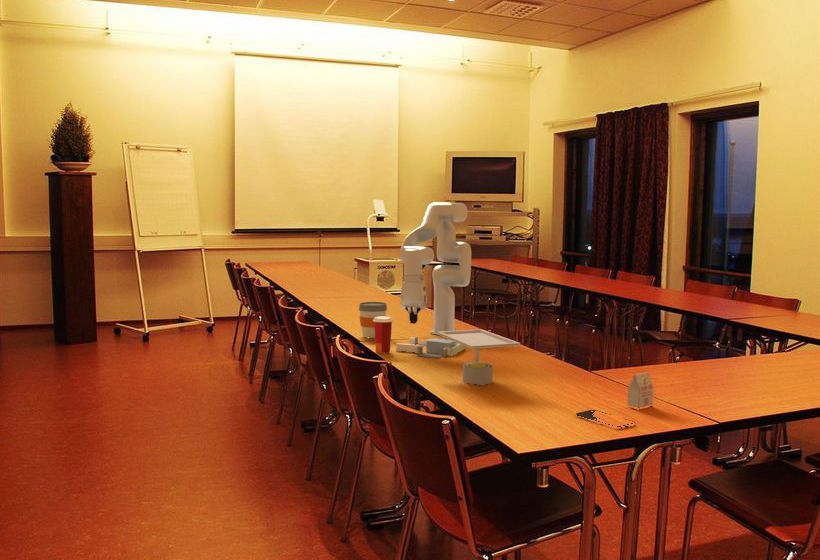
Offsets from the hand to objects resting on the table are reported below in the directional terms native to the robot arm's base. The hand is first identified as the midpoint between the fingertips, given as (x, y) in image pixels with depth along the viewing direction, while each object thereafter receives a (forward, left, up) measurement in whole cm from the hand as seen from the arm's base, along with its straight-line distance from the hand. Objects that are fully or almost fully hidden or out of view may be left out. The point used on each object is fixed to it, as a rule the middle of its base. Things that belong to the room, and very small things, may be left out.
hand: (413, 322), depth 293 cm
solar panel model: (+45, +40, -11) cm, 61 cm away
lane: (+1, +8, -10) cm, 13 cm away
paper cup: (+13, -8, -11) cm, 19 cm away
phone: (+74, +85, -11) cm, 113 cm away
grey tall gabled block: (+56, +93, -11) cm, 109 cm away
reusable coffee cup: (-17, -26, -11) cm, 33 cm away
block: (+4, +13, -11) cm, 18 cm away
